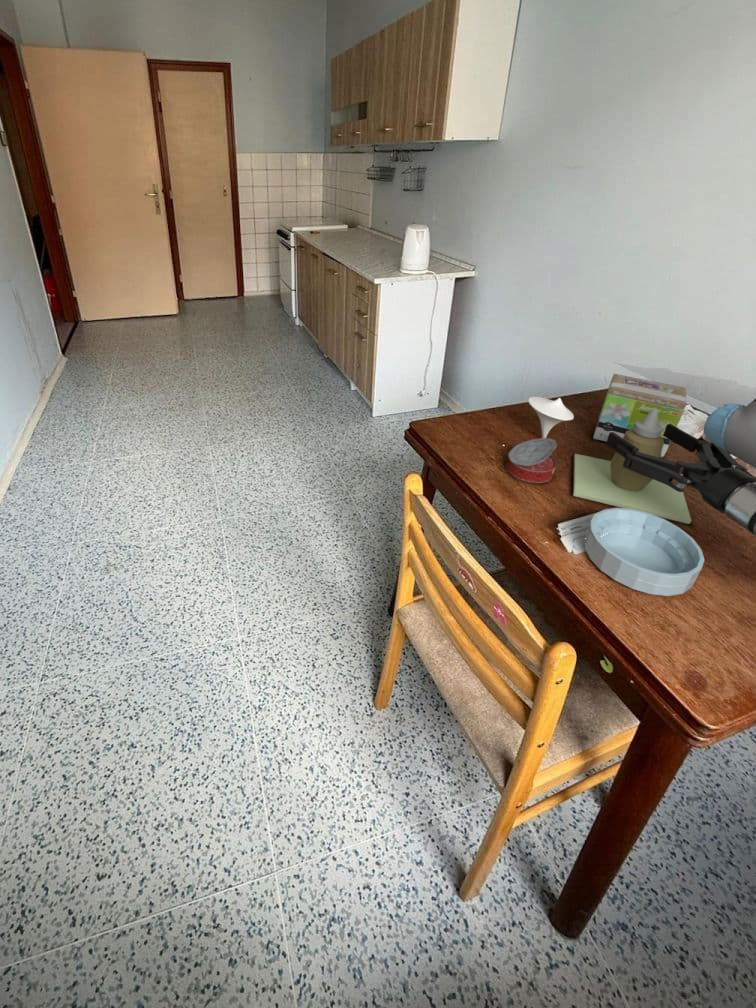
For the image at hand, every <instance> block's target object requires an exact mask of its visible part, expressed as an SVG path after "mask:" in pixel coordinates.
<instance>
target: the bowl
mask: <svg viewBox="0 0 756 1008" xmlns="http://www.w3.org/2000/svg"><path fill="white" fill-rule="evenodd" d="M607 533H608V534H607ZM605 534H606V535H605ZM603 535H604V536H603ZM601 536H602V537H601ZM585 538H586V539H585ZM584 550H585V552H586V553H587V555H588V557H589V559H590V560H591V562H592V563H593V564H594V565H595V566H596V567H597V568H598V569H599V570H600V571H601V572H603V573H604V574H605V575H607V576H608V577H609V578H611V579H612V580H614V581H615V582H618V583H620V584H621V585H624V586H625V587H628V588H630V589H632V590H635V591H638V592H641V593H645V594H648V595H652V596H653V595H654V596H663V597H664V596H665V597H671V596H677V595H683V594H684V593H686V592H688V591H689V590H691V589H692V588H693V587H694V584H695V583H696V581H697V578H698V576H699V575H700V572H701V571H702V569H703V566H704V563H705V557H704V554H703V551H702V548H701V547H700V545H698V543H697V542H696V540H695V539H694V538H693V537H692V536H691V535H689V534H688V533H687V532H685V531H684V530H683V529H682V528H681V527H679V526H677V525H675V524H674V523H672V522H670V521H668V519H666V518H662V517H658V516H655V515H652V514H650V513H647V512H642V511H638V510H634V509H626V508H621V507H613V508H612V507H611V508H605V509H602V510H600V511H597V512H596V513H595V514H594V515H593V517H592V518H591V519H590V521H589V524H588V527H587V529H586V532H585V536H584Z"/></svg>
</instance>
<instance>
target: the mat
mask: <svg viewBox="0 0 756 1008" xmlns="http://www.w3.org/2000/svg"><path fill="white" fill-rule="evenodd" d="M573 455H574V456H573V483H572V485H573V487H572V496H573V497H577V498H581V499H585V500H589V501H592V502H593V501H594V502H596V503H602V504H605V505H610V506H613V507H616V508H626V509H634V510H638V511H642V512H647V513H650V514H652V515H655V516H657V517H660V518H662V519H665V520H671V521H675V522H678V523H683V524H687V525H691V522H692V518H691V514H690V511H689V508H688V504H687V501H686V498H685V497H686V496H685V493H684V491H683V492H678V491H676V490H674V489H673V488H671V487H670V486H668V485H666V484H663V483H661V482H658V481H656V480H654V479H653V480H652V481H651V482H650V483H649V484H647V485H646V486H645V487H644V488H643V489H642V490H640V491H629V490H626V489H623V488H621V487H618V486H617V485H616V484H614V483H613V481H612V478H611V467H610V465H611V461H612V460H607V459H603V458H597V457H593V456H587V455H582V454H579V453H574V454H573Z"/></svg>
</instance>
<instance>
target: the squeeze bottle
mask: <svg viewBox="0 0 756 1008" xmlns="http://www.w3.org/2000/svg"><path fill="white" fill-rule="evenodd" d="M657 422H658V409H656V408H651V410H650V411H649V412H648V414H647V415H646V417H645V418H644V420H638V421H636V422H635V424H634V427H633V429H629V430H627V431H626V433H625V435H624V437H623V439H624V440H626V441H627V442H629V443H630V444H632V445H633V446H635V447H636V448H638V449H639V451H638V452H640V453H644V454H648V455H651V456H655V457H658V458H661V457H660V456H661V452H662V448H663V444H664V439H663V438H662V437H661V436H660V435H661V433H662V430H663V428H662V427H661V426H660V425H659V424H657ZM638 458H639V457H638ZM610 461H611V465H610V467H611V478H612V481H613V483H614V484H616V485H617V486H618V487H621V488H623V489H626V490H629V491H640V490H642V489H643V488H644V487H645V486H646V485H647V484H649V483H650V482H651V481H652V480H653V479H651V478H649V477H646V476H644V475H641V474H639V473H637V472H634V471H632V470H629V469H627V468H625V467H623V463H624V461H625V458H624V457H623V456H621V455H620V454H618V453H617V452H616V451H615V453H614V455H613V457H612V459H611V460H610Z"/></svg>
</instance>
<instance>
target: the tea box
mask: <svg viewBox="0 0 756 1008" xmlns="http://www.w3.org/2000/svg"><path fill="white" fill-rule="evenodd" d="M686 407H687V388H686V387H684V386H678V385H673V384H669V383H668V384H667V383H662V382H658V381H652V380H647V379H642V378H638V377H632V376H627V375H623V374H618V373H613V375H612V377H611V380H610V383H609V386H608V388H607V392H606V395H605V397H604V400H603V404H602V407H601V410H600V412H599V414H598V415H599V416H598V419H597V422H596V426H595V430H594V432H593V433H594V434H593V437H592V439H593V440H598V441H603V442H605V443H606V442H607V439H608V436H609V433H610V432H614V433H615V434H617V435H618V436H620V437H621V438H623V437H624V435H625V433H626V431H627V430H629V429H633V427H634V424H635V422H636V421H638V420H644V418H645V417H646V415H647V414H648V412H649V411H650V410H651V408H656V409H658V422H657V424H659V425H660V426H661V427H662V428H663V430H662V433H661V435H660V436H661V437H662V438H663V439H664V444H663V448H662V452H661V456H660V458H663V457H665V455H666V453H667V451H668V449H669V446H670V444H671V442H672V441H671V440H670V439H668V438H666V437H665V436H663V434H664V432H665V429H666V427H667V424H672V425H673V426H675V427H677V428H678V425H679V423H680V420H681V418H682V416H683V414H684V410H685V409H686Z"/></svg>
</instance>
